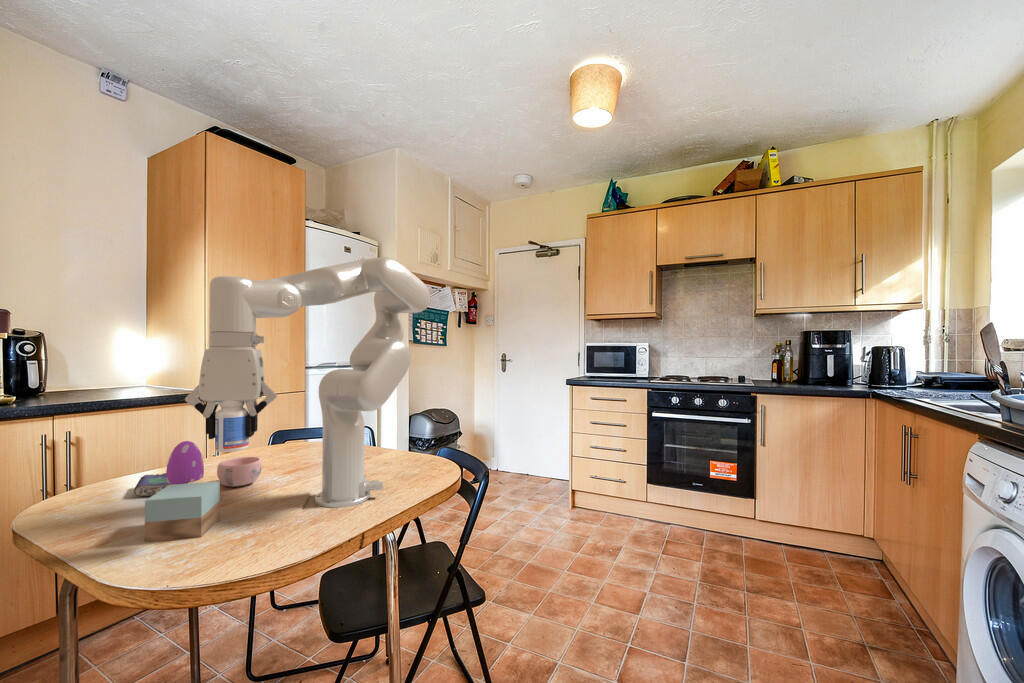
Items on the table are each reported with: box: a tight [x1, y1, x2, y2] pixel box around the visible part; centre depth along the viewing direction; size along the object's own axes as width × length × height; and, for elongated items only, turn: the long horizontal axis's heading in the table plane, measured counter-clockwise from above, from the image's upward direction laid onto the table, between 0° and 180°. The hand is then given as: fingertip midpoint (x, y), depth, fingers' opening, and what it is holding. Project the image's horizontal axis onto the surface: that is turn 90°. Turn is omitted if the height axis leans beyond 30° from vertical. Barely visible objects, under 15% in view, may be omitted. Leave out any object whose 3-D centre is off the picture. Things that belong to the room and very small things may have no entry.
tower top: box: [144, 480, 221, 523], centre depth 85 cm, size 9×9×4 cm
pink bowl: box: [216, 456, 263, 487], centre depth 114 cm, size 12×10×6 cm
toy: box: [165, 440, 205, 484], centre depth 96 cm, size 7×7×15 cm
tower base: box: [144, 500, 221, 542], centre depth 85 cm, size 9×9×4 cm
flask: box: [133, 472, 175, 497], centre depth 106 cm, size 9×3×11 cm
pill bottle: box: [214, 400, 250, 453], centre depth 82 cm, size 6×5×10 cm
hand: (232, 435), depth 82 cm, fingers closed on pill bottle, 5 cm apart
